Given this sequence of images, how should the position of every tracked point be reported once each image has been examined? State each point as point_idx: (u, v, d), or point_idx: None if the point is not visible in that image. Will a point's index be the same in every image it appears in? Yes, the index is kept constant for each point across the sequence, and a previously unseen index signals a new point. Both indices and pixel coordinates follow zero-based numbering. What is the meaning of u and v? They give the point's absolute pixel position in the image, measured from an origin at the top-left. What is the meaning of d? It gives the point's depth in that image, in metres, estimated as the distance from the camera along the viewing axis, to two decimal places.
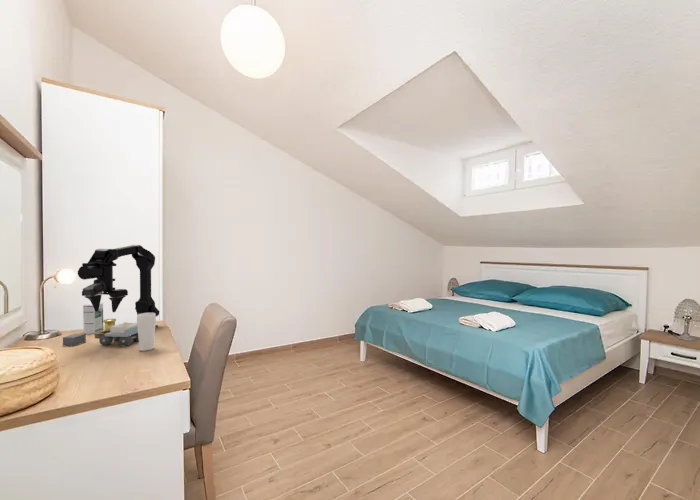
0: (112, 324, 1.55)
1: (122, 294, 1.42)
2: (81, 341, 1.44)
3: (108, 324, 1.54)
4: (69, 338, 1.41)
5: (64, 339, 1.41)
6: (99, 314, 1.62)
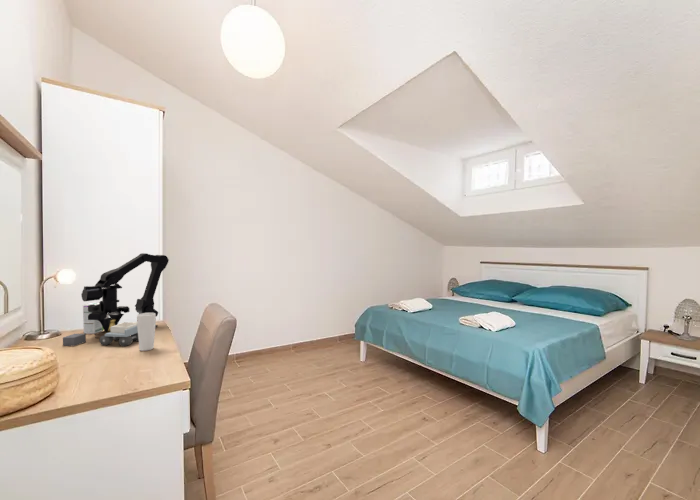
0: (112, 324, 1.55)
1: (92, 318, 1.47)
2: (81, 341, 1.44)
3: None
4: (69, 338, 1.41)
5: (64, 339, 1.41)
6: None
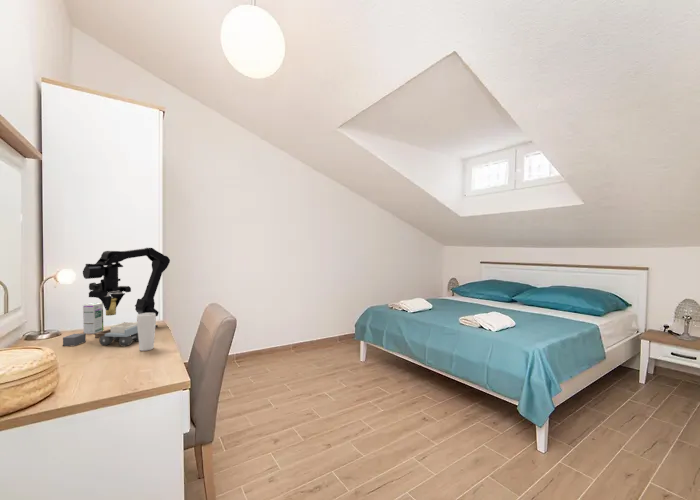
0: (113, 303, 1.54)
1: (93, 295, 1.46)
2: (81, 341, 1.45)
3: None
4: (70, 338, 1.41)
5: (64, 339, 1.41)
6: (99, 314, 1.62)
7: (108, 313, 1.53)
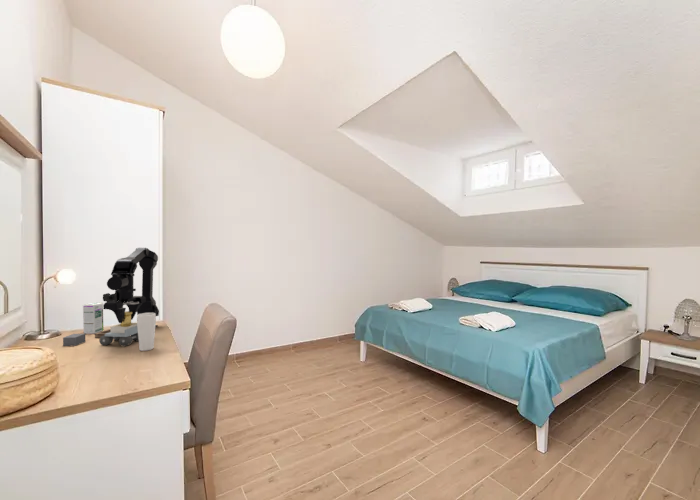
0: (128, 317, 1.46)
1: (108, 307, 1.37)
2: (81, 341, 1.45)
3: (124, 317, 1.45)
4: (70, 338, 1.41)
5: (65, 339, 1.41)
6: (99, 314, 1.62)
7: None
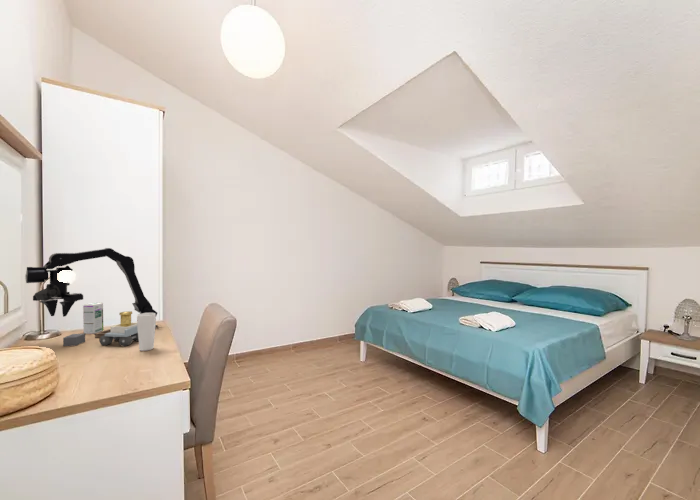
0: (128, 317, 1.46)
1: (77, 298, 1.43)
2: (82, 341, 1.45)
3: (124, 317, 1.45)
4: (71, 338, 1.41)
5: (65, 339, 1.40)
6: (99, 314, 1.62)
7: None
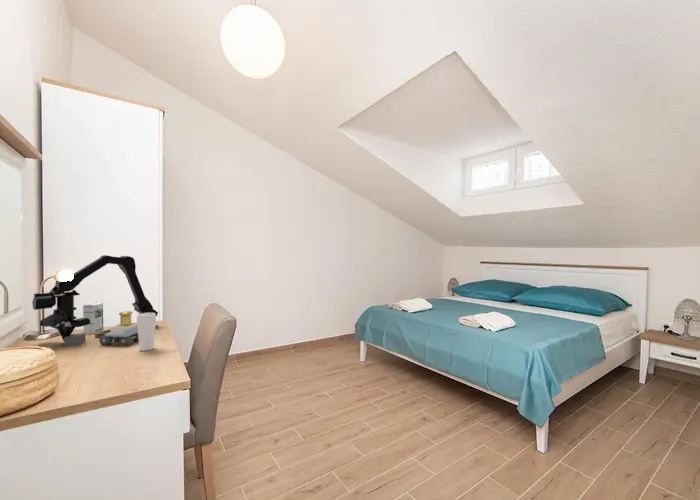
0: (128, 317, 1.46)
1: (84, 323, 1.43)
2: (82, 340, 1.45)
3: (124, 317, 1.45)
4: (72, 338, 1.41)
5: (66, 339, 1.40)
6: (99, 314, 1.62)
7: None
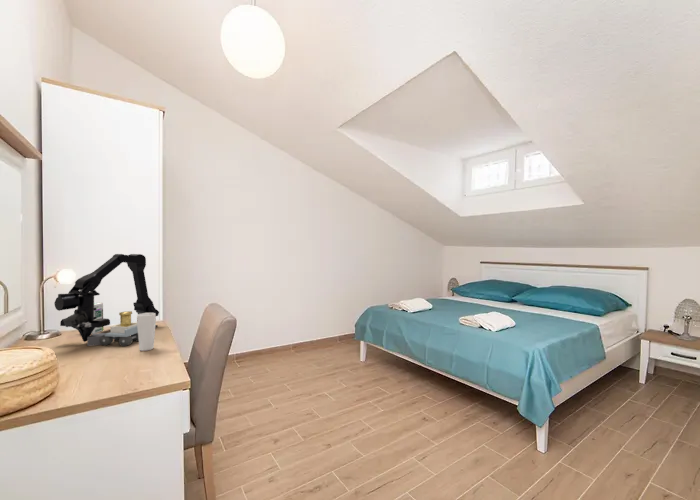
0: (128, 317, 1.46)
1: (105, 324, 1.42)
2: None
3: (124, 317, 1.45)
4: (95, 337, 1.42)
5: (89, 338, 1.41)
6: (99, 314, 1.62)
7: None
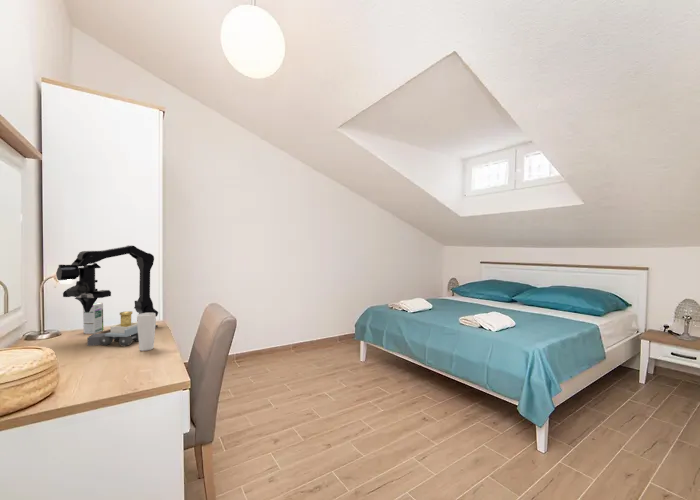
0: (129, 317, 1.46)
1: (106, 295, 1.47)
2: None
3: (124, 317, 1.45)
4: (95, 338, 1.42)
5: (89, 339, 1.41)
6: (99, 314, 1.62)
7: None
